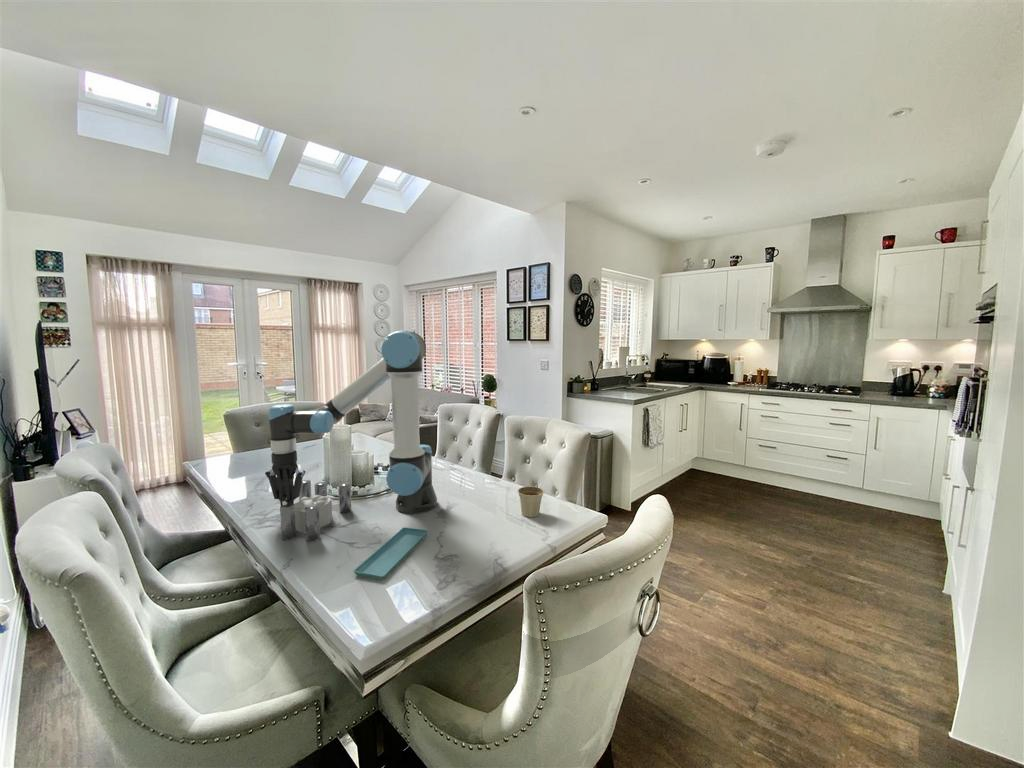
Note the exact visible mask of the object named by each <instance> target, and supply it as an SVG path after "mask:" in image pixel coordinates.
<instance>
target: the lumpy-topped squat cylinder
mask: <svg viewBox="0 0 1024 768" xmlns="http://www.w3.org/2000/svg"><path fill="white" fill-rule="evenodd" d="M332 504H333V503H332V498H331V496H328V495H327V496H320V495H316V496H315V495H314V496H311V497H310V498H308V497H303V498H301V499H300V501H299V500H298V501H297V502H295V503H294V505H295V524H296V530H298V531H297V532H299V531H300V532H299V533H302V532H306V525H305V507H307V506H310V505H318V506H319V518H320V529H322V528H324V527H326V526H327V524H328V525H329V524H331V522H332V521H333V508H332V507H333V506H332ZM331 520H332V521H331ZM325 525H326V526H325ZM323 526H324V527H323ZM321 527H322V528H321Z"/></svg>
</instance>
